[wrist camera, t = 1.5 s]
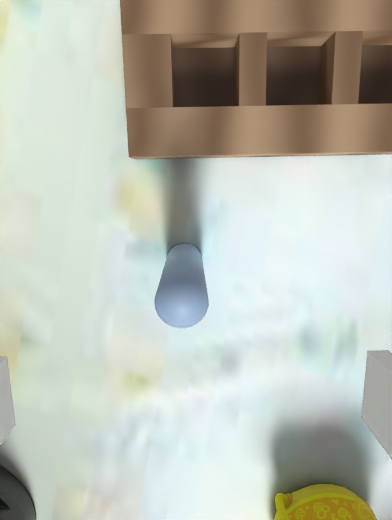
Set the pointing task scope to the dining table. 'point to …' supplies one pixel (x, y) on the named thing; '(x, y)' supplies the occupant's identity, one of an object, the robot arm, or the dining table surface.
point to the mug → (322, 504)
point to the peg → (182, 288)
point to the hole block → (257, 77)
